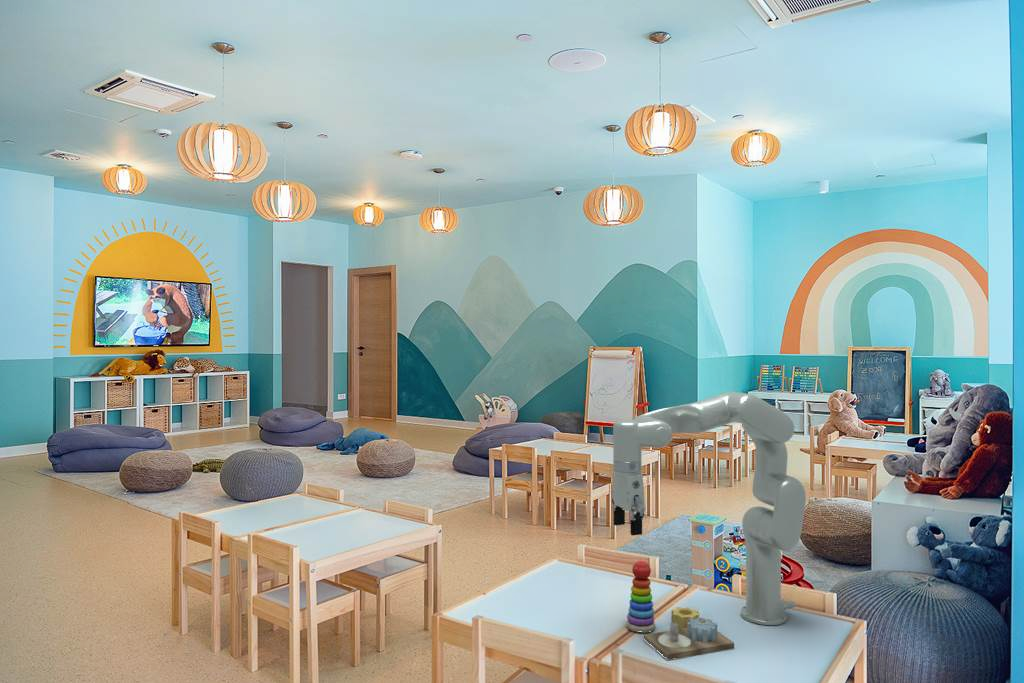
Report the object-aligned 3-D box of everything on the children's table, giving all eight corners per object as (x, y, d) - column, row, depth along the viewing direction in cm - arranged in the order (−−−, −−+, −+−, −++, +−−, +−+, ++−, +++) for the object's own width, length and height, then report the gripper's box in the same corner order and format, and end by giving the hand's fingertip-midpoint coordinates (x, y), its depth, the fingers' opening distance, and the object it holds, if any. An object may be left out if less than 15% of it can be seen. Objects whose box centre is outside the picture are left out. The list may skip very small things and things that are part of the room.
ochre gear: (689, 617, 202) (689, 605, 202) (704, 627, 195) (704, 615, 194) (666, 620, 199) (666, 608, 199) (680, 631, 192) (680, 619, 192)
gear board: (707, 629, 193) (707, 608, 193) (734, 648, 182) (734, 625, 182) (643, 640, 187) (643, 618, 187) (667, 660, 176) (666, 636, 176)
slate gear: (698, 627, 191) (698, 613, 191) (722, 636, 186) (722, 622, 185) (681, 635, 186) (681, 621, 186) (706, 645, 181) (706, 630, 181)
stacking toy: (655, 635, 190) (655, 567, 190) (625, 633, 192) (625, 565, 191) (655, 623, 198) (655, 557, 198) (627, 621, 200) (626, 556, 199)
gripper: (656, 471, 180) (656, 537, 181) (624, 459, 197) (625, 520, 197) (630, 473, 178) (630, 540, 178) (600, 461, 194) (600, 522, 195)
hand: (627, 529), depth 188 cm, fingers open, 9 cm apart
